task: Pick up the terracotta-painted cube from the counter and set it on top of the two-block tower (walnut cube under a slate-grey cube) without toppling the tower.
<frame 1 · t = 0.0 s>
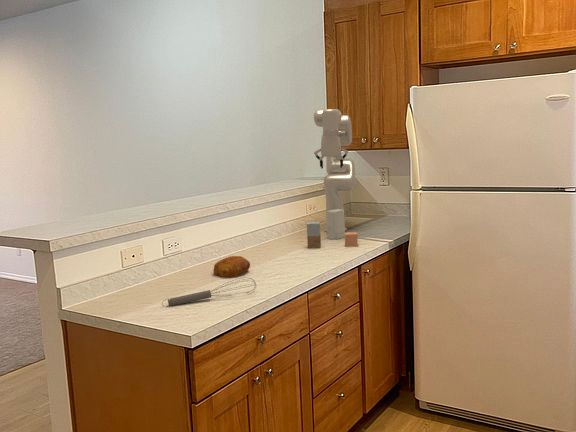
hand: (331, 168, 293), 37 cm above the counter, tool pointing down, fingers open, 9 cm apart
walnut block: (314, 247, 281), on the counter, touching slate block
slate block: (313, 234, 280), point 6 cm above the counter, touching walnut block
brown bread loaf: (231, 273, 238), on the counter
terracotta block: (351, 245, 281), on the counter
kitchen whisk: (212, 300, 202), on the counter
skincare box: (336, 238, 301), on the counter
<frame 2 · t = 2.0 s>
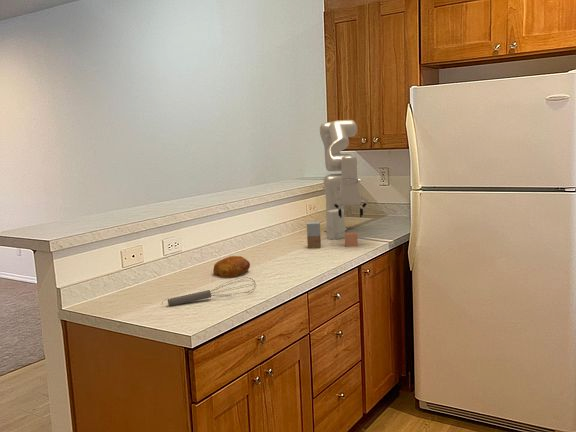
hand: (350, 217, 279), 14 cm above the counter, tool pointing down, fingers open, 9 cm apart
nothing on the counter moved.
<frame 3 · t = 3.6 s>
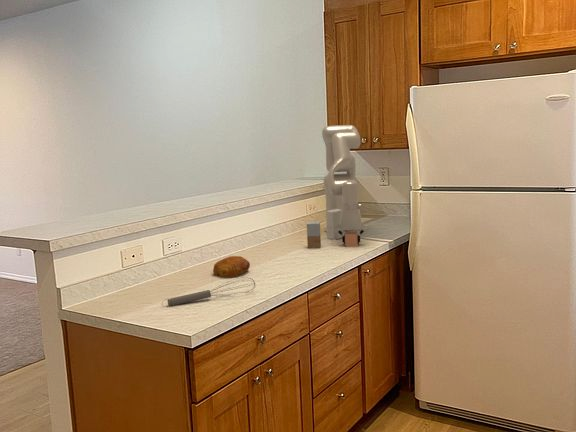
hand: (351, 243, 281), 1 cm above the counter, tool pointing down, fingers closed on terracotta block, 6 cm apart
terracotta block: (351, 245, 281), on the counter, touching gripper
everything else where it was.
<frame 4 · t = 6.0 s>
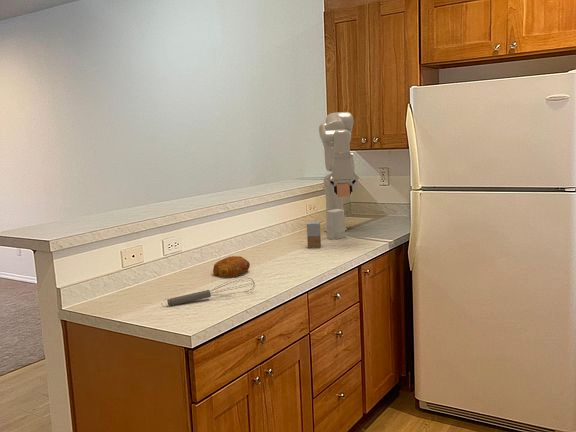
hand: (343, 193, 277), 25 cm above the counter, tool pointing down, fingers closed on terracotta block, 6 cm apart
terracotta block: (343, 195, 278), point 24 cm above the counter, touching gripper
everything else where it was.
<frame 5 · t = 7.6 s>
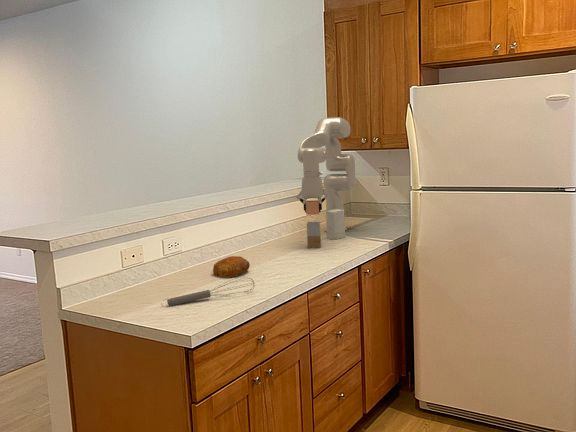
hand: (312, 211, 279), 17 cm above the counter, tool pointing down, fingers closed on terracotta block, 6 cm apart
terracotta block: (312, 213, 279), point 16 cm above the counter, touching gripper
everything else where it was.
when the fingers open (14 cm above the counter, at t = 8.7 s): terracotta block drops 1 cm, resting on slate block.
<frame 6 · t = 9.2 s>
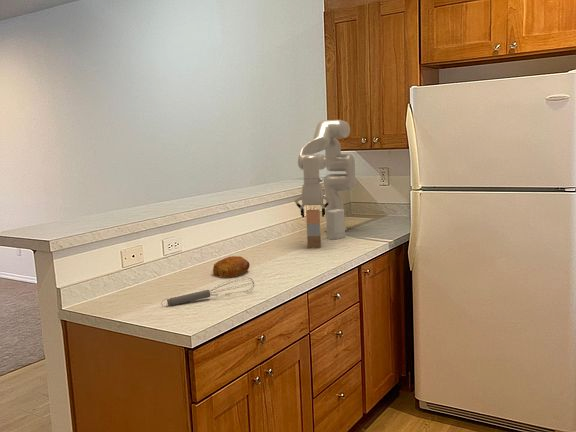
hand: (313, 216, 279), 15 cm above the counter, tool pointing down, fingers open, 9 cm apart
slate block: (313, 234, 280), point 6 cm above the counter, touching terracotta block, walnut block
terracotta block: (313, 222, 280), point 12 cm above the counter, touching slate block
everything else where it was.
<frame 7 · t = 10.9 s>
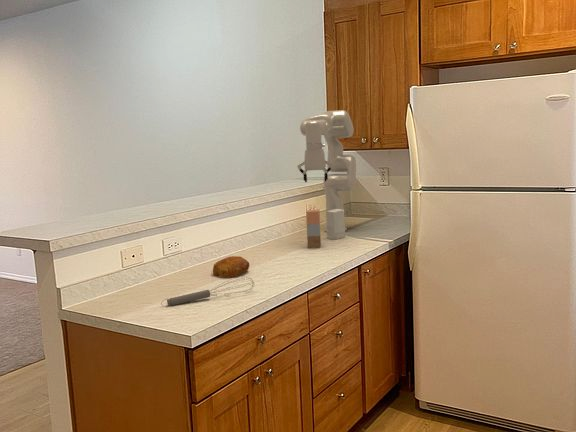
hand: (315, 181, 284), 31 cm above the counter, tool pointing down, fingers open, 9 cm apart
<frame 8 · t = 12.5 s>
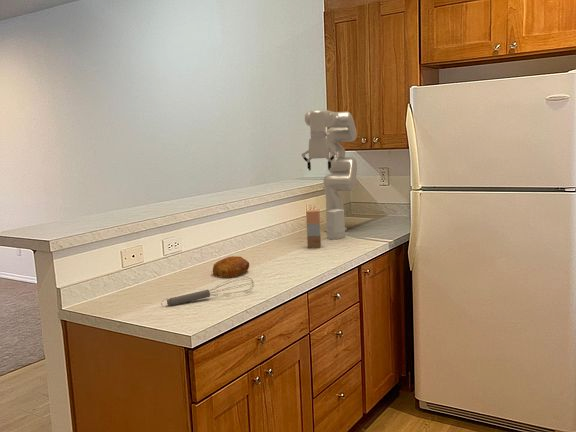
hand: (319, 169, 290), 36 cm above the counter, tool pointing down, fingers open, 9 cm apart
at the end: terracotta block 0.0 cm off-centre on the walnut block, point 12.0 cm above the walnut block's base; terracotta block tilted 0°; slate block moved 0.1 cm from its start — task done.
